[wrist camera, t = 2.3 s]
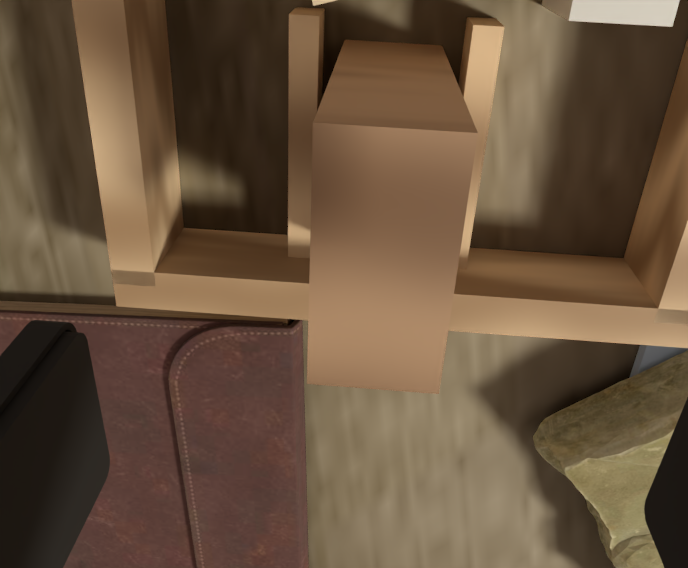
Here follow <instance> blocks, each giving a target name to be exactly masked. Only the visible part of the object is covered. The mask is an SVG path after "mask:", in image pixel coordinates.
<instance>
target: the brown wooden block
mask: <svg viewBox="0 0 688 568" xmlns="http://www.w3.org/2000/svg"><path fill="white" fill-rule="evenodd" d="M477 137H478V132H477V129H476V127H475V125H474V122H473V120H472V117H471V115H470V112H469V110H468V107H467V105H466V103H465V100H464V98H463V95H462V93H461V90H460V88H459V85H458V83H457V81H456V78H455V76H454V73H453V71H452V68H451V66H450V64H449V61H448V59H447V56H446V54H445V51H444V49H443V46H442V45H428V44H411V43H394V42H377V41H361V40H344V43H343V46H342V48H341V51H340V53H339V56H338V59H337V61H336V64H335V66H334V69H333V72H332V74H331V77H330V80H329V82H328V85H327V87H326V90H325V93H324V95H323V98H322V100H321V103H320V106H319V108H318V111H317V114H316V116H315V119H314V121H313V145H312V188H311V231H310V274H309V317H308V360H307V384H317V385H330V386H343V387H356V388H369V389H382V390H396V391H409V392H422V393H435V394H439V389H440V382H441V376H442V369H443V362H444V356H445V349H446V343H447V336H448V329H449V323H450V316H451V309H452V303H453V296H454V289H455V283H456V276H457V269H458V263H459V256H460V250H461V243H462V236H463V230H464V223H465V216H466V210H467V203H468V196H469V190H470V183H471V176H472V170H473V163H474V156H475V150H476V143H477Z"/></svg>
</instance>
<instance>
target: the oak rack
mask: <svg viewBox="0 0 688 568" xmlns="http://www.w3.org/2000/svg"><path fill="white" fill-rule="evenodd" d="M71 2H72V9H73V15H74V22H75V29H76V36H77V42H78V49H79V56H80V63H81V70H82V76H83V83H84V90H85V97H86V103H87V110H88V117H89V124H90V130H91V137H92V144H93V151H94V157H95V164H96V171H97V178H98V184H99V191H100V198H101V205H102V211H103V218H104V225H105V232H106V238H107V245H108V252H109V259H110V265H111V272H112V279H113V286H114V292H115V299H116V306H118V307H132V308H146V309H159V310H173V311H186V312H200V313H214V314H227V315H241V316H255V317H268V318H282V319H296V320H308V317H309V274H310V231H311V188H312V145H313V121H314V119H315V116H316V114H317V111H318V108H319V106H320V103H321V100H322V87H323V53H324V19H325V9H323V8H306V7H296V8H295V9H294V10H293V11H292V12H291V13H290V14H289V104H288V235H282V234H267V233H253V232H238V231H224V230H209V229H195V228H184V224H183V212H182V199H181V187H180V175H179V163H178V151H177V139H176V126H175V114H174V102H173V90H172V78H171V66H170V54H169V41H168V29H167V17H166V5H165V0H71ZM503 33H504V26H503V25H502V24H501V23H500V22H499V21H498V20H497V19H496V18H478V17H467V21H466V29H465V36H464V44H463V52H462V59H461V67H460V75H459V82H458V85H459V88H460V90H461V93H462V95H463V98H464V100H465V103H466V105H467V107H468V110H469V112H470V115H471V117H472V120H473V122H474V125H475V127H476V129H477V132H478V137H477V143H476V150H475V156H474V163H473V170H472V176H471V183H470V190H469V196H468V203H467V210H466V216H465V223H464V230H463V236H462V243H461V250H460V256H459V263H458V269H457V276H456V283H455V289H454V296H453V303H452V309H451V316H450V323H449V329H448V331H460V332H473V333H487V334H501V335H514V336H528V337H542V338H555V339H569V340H582V341H596V342H610V343H623V344H637V345H651V346H664V347H678V348H688V38H687V42H686V45H685V49H684V52H683V56H682V59H681V62H680V66H679V69H678V73H677V76H676V80H675V83H674V86H673V90H672V93H671V97H670V100H669V104H668V107H667V111H666V114H665V117H664V121H663V124H662V128H661V131H660V135H659V138H658V141H657V145H656V148H655V152H654V155H653V159H652V162H651V166H650V169H649V172H648V176H647V179H646V183H645V186H644V190H643V193H642V196H641V200H640V203H639V207H638V210H637V214H636V217H635V221H634V224H633V227H632V231H631V234H630V238H629V241H628V245H627V248H626V251H625V255H624V258H614V257H600V256H585V255H571V254H557V253H542V252H528V251H513V250H499V249H484V248H470V242H471V235H472V229H473V223H474V216H475V210H476V204H477V197H478V191H479V185H480V178H481V172H482V166H483V160H484V153H485V147H486V141H487V134H488V128H489V122H490V115H491V109H492V103H493V96H494V90H495V84H496V77H497V71H498V65H499V58H500V52H501V46H502V39H503Z"/></svg>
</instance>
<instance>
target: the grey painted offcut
mask: <svg viewBox="0 0 688 568" xmlns="http://www.w3.org/2000/svg"><path fill="white" fill-rule="evenodd" d="M679 1H680V0H542V6H543V7H545V8H547V9H549V10H550V11H552V12H554V13H556V14H557V15H559V16H561V17H563V18H564V19H566V20H568V21H580V22H597V23H615V24H632V25H649V26H667V27H673V23H674V19H675V16H676V12H677V9H678V5H679Z"/></svg>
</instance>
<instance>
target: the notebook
mask: <svg viewBox="0 0 688 568" xmlns="http://www.w3.org/2000/svg"><path fill="white" fill-rule="evenodd" d="M33 320H44V321H57V322H70V323H72V324H73V325H74V326H75V328H76V330H77V332H80V333H84V334H85V336H86V338H87V341H88V346H89V351H90V356H91V361H92V366H93V372H94V377H95V382H96V387H97V392H98V398H99V403H100V408H101V413H102V418H103V424H104V429H105V434H106V439H107V444H108V450H109V455H110V467H109V473H108V476H107V479H106V481H105V483H104V486H103V488H102V490H101V492H100V494H99V496H98V498H97V500H96V502H95V504H94V506H93V508H92V510H91V512H90V514H89V516H88V518H87V520H86V522H85V524H84V526H83V528H82V530H81V532H80V534H79V536H78V538H77V540H76V542H75V544H74V547H73V549H72V551H71V553H70V555H69V557H68V559H67V561H66V563H65V565H64V567H63V568H309V561H308V522H307V483H306V444H305V405H304V366H303V327H302V320H296V319H295V321H294V322H293V323H292V324H290V319H282V318H268V317H255V316H241V315H227V314H214V313H200V312H186V311H173V310H159V309H146V308H132V307H118V306H116V305H93V304H69V303H45V302H21V301H0V355H1V354H2V353H3V352H4V351H5V349H6V348H7V347H8V346H9V345H10V344H11V342H12V341H13V340H14V339H15V338H16V337H17V335H18V334H19V333H20V332H21V331H22V330H23V328H24V327H25V326H26V325H27V324H28V323H29V322H31V321H33Z"/></svg>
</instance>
